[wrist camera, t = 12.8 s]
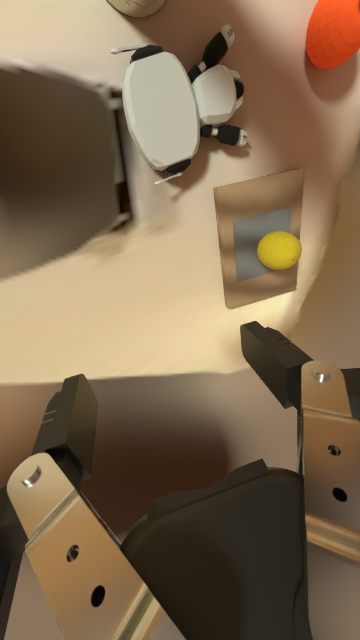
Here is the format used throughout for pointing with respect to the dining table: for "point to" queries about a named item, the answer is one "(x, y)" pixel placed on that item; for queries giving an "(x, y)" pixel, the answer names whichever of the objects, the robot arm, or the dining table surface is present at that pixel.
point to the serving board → (256, 233)
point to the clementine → (333, 32)
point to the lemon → (279, 250)
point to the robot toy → (180, 103)
